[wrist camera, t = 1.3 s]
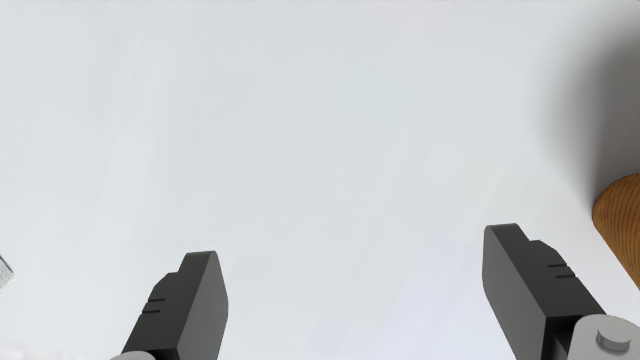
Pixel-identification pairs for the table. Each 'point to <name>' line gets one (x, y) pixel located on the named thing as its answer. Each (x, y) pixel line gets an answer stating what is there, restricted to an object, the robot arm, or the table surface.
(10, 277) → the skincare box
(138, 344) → the robot arm
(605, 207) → the disposable coffee cup
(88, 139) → the table surface
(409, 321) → the table surface
